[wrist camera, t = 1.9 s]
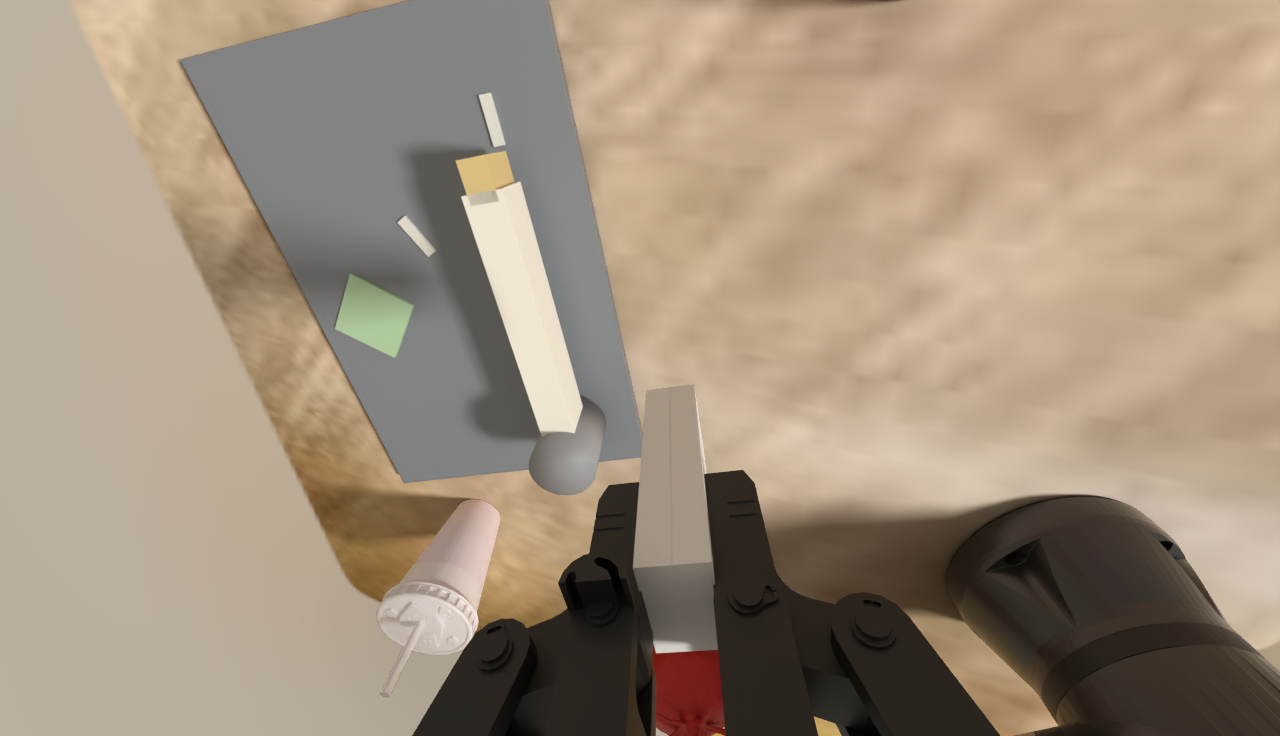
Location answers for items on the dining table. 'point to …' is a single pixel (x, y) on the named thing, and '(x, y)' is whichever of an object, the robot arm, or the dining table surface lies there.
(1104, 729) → the robot arm
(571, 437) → the lever
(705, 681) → the pomegranate
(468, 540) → the smoothie
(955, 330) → the dining table surface
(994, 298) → the dining table surface
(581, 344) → the dial plate
